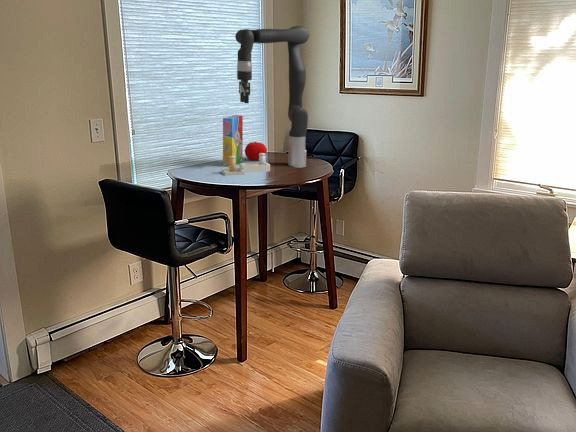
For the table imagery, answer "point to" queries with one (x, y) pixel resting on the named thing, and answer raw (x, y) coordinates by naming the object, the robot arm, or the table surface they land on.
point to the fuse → (261, 158)
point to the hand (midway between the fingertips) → (244, 102)
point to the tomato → (255, 150)
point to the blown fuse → (232, 164)
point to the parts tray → (225, 172)
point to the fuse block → (255, 167)
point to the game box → (233, 139)
